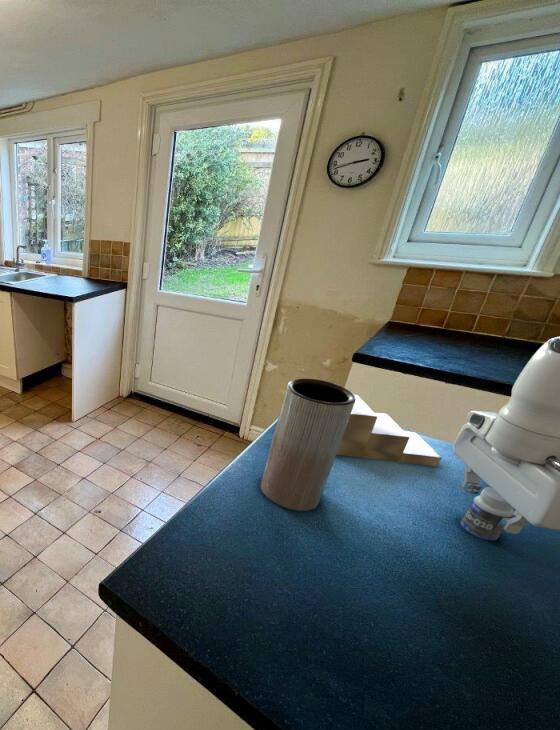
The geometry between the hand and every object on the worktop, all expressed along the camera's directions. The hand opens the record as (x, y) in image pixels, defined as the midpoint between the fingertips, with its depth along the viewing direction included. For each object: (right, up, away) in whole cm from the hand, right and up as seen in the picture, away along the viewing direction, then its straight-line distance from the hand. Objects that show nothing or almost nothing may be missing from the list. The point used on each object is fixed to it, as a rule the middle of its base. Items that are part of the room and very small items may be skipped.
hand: (487, 509), depth 69 cm
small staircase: (-1, +6, +25) cm, 25 cm away
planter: (-27, -1, +11) cm, 29 cm away
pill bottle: (0, -5, +2) cm, 5 cm away
